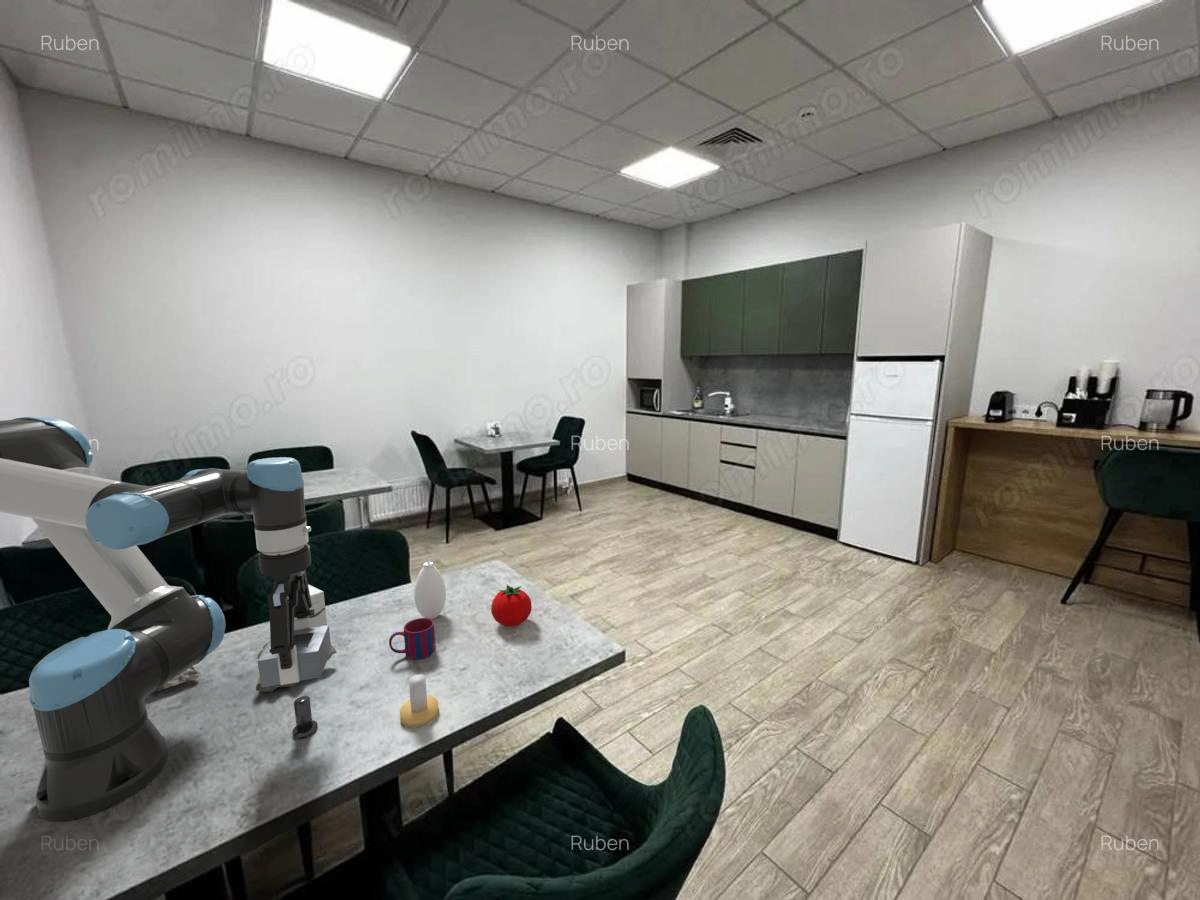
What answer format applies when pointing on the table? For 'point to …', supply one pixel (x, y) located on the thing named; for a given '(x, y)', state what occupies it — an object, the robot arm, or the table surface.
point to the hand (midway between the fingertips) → (297, 665)
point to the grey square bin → (299, 656)
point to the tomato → (511, 606)
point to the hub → (418, 704)
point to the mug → (417, 639)
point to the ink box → (317, 607)
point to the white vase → (429, 591)
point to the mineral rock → (181, 678)
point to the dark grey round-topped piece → (303, 718)
